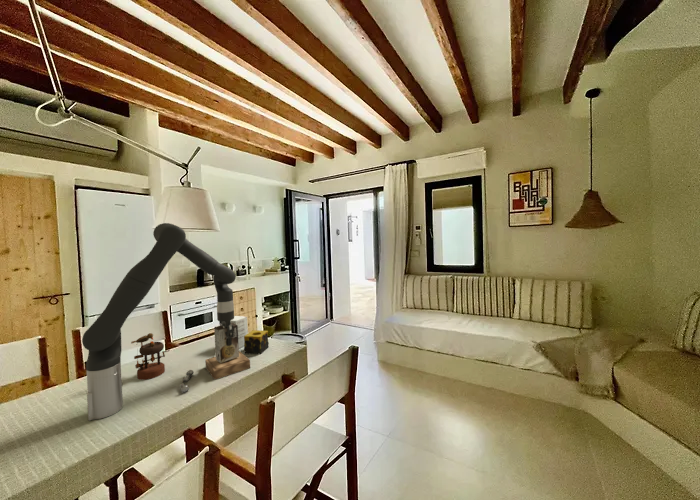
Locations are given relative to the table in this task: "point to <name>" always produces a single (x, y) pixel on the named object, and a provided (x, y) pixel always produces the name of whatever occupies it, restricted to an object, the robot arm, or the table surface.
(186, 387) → the bolt
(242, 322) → the supplement box
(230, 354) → the coffee box
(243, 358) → the stand
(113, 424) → the table surface
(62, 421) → the table surface
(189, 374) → the bolt
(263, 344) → the yellow black tissue box
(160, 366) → the music box
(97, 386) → the robot arm
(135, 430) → the table surface
